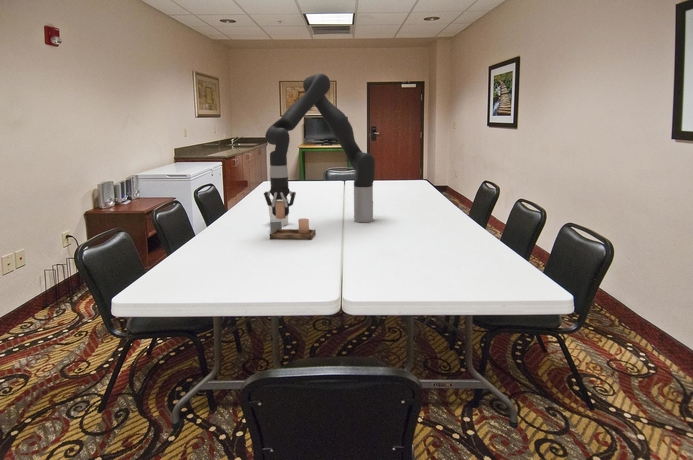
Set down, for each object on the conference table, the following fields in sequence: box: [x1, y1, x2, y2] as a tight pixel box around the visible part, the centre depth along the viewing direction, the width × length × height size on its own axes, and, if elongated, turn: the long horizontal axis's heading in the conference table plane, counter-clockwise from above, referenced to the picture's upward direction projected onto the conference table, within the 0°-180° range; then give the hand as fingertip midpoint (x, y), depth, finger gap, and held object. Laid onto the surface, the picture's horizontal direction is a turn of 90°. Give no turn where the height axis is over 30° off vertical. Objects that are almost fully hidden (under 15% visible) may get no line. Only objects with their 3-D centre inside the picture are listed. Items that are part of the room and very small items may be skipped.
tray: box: [269, 228, 317, 241], centre depth 206 cm, size 18×10×2 cm, turn 83°
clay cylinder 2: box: [298, 217, 310, 235], centre depth 205 cm, size 4×4×7 cm
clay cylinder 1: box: [275, 201, 286, 219], centre depth 204 cm, size 4×4×7 cm
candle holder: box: [268, 198, 290, 227], centre depth 228 cm, size 10×10×12 cm
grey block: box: [269, 219, 283, 234], centre depth 216 cm, size 5×5×5 cm
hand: (280, 215), depth 205 cm, fingers closed on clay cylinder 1, 4 cm apart
